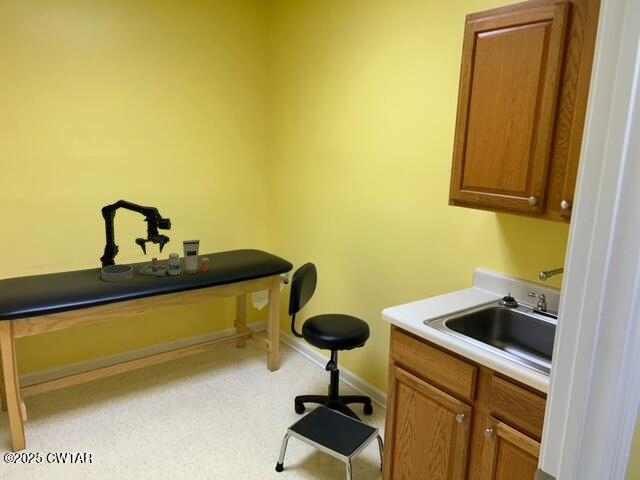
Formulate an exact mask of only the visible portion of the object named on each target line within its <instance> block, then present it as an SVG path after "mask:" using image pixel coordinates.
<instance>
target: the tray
mask: <svg viewBox="0 0 640 480" xmlns="http://www.w3.org/2000/svg"><path fill="white" fill-rule="evenodd" d="M157 270H158V271H157V272H152V264H147V265H145V266H144V267H143V268H141V269H140V270H138V274H139V275H148V276H149V275H151V276H156V277H157V276H163V275H164V274H165V275H167V274H168V273H167V272H168V266H167V265H166V266H165V265H164V266H163V265H157ZM166 273H167V274H166ZM165 275H164V276H165ZM164 276H163V277H164Z"/></svg>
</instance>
